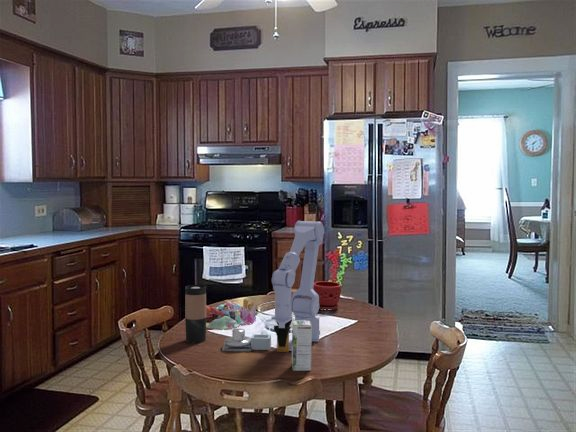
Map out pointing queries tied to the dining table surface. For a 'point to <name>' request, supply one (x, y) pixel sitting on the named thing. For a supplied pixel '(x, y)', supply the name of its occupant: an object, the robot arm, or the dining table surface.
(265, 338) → the bracket head
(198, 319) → the travel mug
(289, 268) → the robot arm
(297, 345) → the syrup box
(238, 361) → the dining table surface
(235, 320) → the candy landscape model
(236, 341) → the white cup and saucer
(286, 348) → the wedge
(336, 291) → the plant pot
